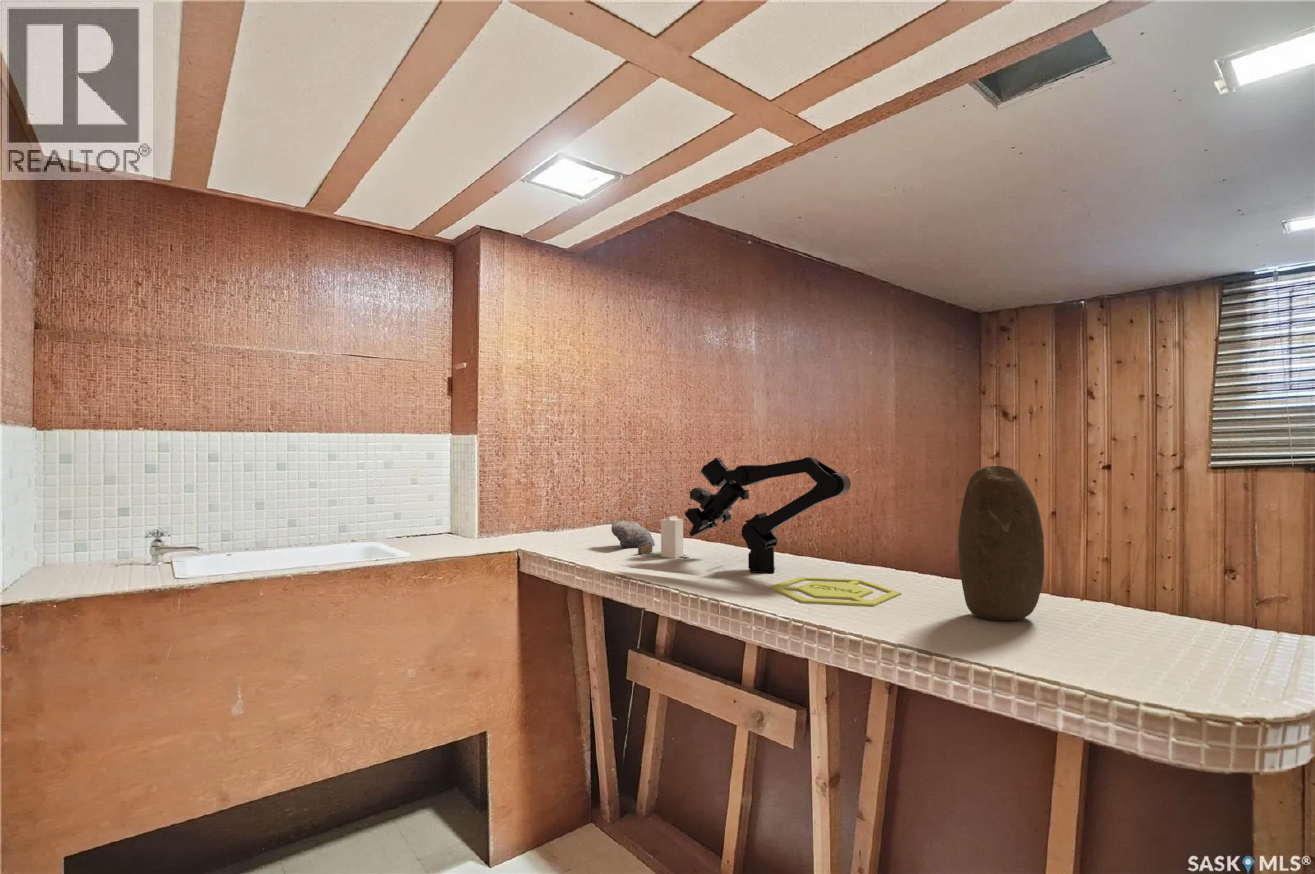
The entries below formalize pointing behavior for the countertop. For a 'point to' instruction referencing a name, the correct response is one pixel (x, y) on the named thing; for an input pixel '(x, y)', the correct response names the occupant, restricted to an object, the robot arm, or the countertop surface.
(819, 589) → the logo
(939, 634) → the countertop surface
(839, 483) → the robot arm
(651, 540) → the rock
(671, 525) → the white rectangular block
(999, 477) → the stone
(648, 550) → the switch board
